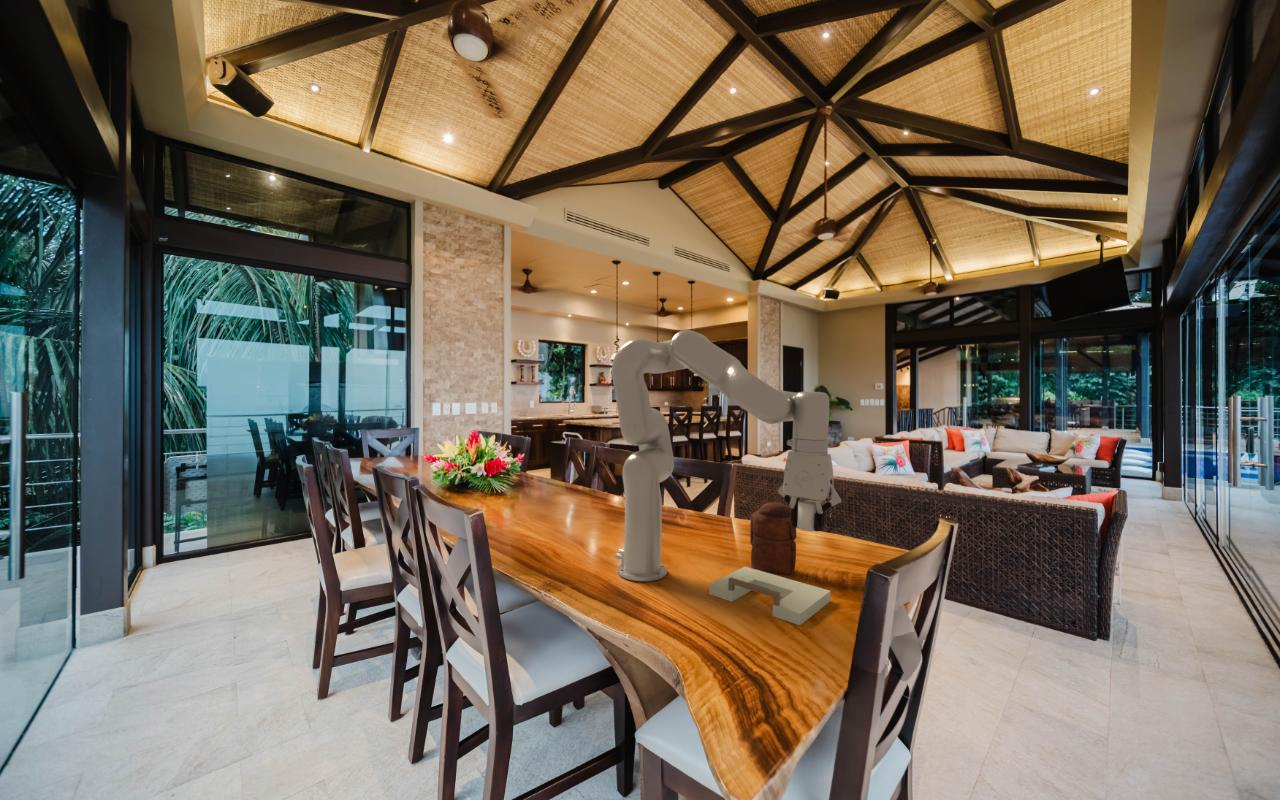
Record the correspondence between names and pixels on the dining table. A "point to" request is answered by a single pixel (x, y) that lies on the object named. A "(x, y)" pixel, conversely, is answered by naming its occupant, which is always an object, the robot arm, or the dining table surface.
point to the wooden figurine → (773, 539)
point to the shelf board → (774, 593)
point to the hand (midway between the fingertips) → (807, 526)
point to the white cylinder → (806, 515)
